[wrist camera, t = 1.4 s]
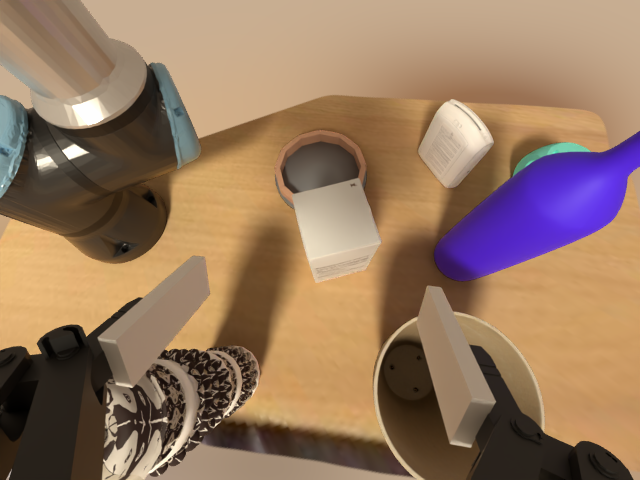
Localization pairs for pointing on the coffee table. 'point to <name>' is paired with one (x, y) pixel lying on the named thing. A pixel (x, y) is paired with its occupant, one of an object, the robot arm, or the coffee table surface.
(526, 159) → the mint green rounded piece
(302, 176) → the ringed saucer
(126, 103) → the robot arm
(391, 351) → the plant pot
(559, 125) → the coffee table surface
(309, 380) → the coffee table surface
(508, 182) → the bottle
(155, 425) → the decorative candle
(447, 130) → the photo printer
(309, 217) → the supplement box
